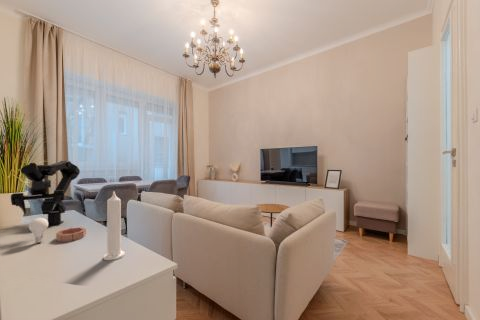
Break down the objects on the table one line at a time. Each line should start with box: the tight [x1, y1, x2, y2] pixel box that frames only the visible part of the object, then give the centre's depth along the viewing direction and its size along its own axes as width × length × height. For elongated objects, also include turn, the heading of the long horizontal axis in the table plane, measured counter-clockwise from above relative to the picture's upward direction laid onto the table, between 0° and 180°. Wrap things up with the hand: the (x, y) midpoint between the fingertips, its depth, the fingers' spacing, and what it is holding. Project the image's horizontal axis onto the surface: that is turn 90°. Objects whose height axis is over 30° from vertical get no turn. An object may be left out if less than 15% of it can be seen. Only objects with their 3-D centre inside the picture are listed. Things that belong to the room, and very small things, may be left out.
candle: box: [103, 190, 125, 261], centre depth 84 cm, size 7×7×25 cm
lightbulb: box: [28, 217, 49, 244], centre depth 97 cm, size 6×6×11 cm
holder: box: [55, 226, 87, 243], centre depth 104 cm, size 10×10×3 cm
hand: (38, 211), depth 102 cm, fingers open, 9 cm apart
